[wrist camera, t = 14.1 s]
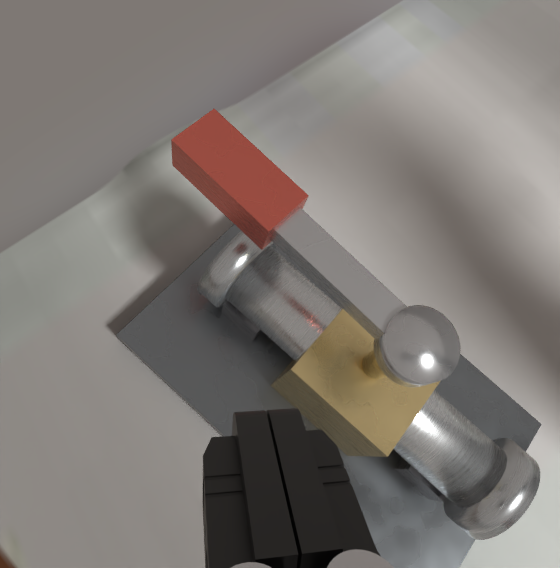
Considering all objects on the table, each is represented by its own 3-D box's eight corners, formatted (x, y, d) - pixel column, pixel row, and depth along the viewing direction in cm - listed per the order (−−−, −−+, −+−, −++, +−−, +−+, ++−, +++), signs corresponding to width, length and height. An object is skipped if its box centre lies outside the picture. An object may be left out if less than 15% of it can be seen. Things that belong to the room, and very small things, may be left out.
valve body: (530, 424, 37) (682, 412, 26) (417, 618, 31) (548, 711, 20) (268, 197, 39) (301, 94, 28) (118, 338, 34) (84, 281, 22)
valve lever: (453, 351, 24) (478, 341, 22) (412, 404, 23) (434, 399, 21) (217, 131, 26) (219, 104, 24) (166, 169, 25) (165, 144, 23)
